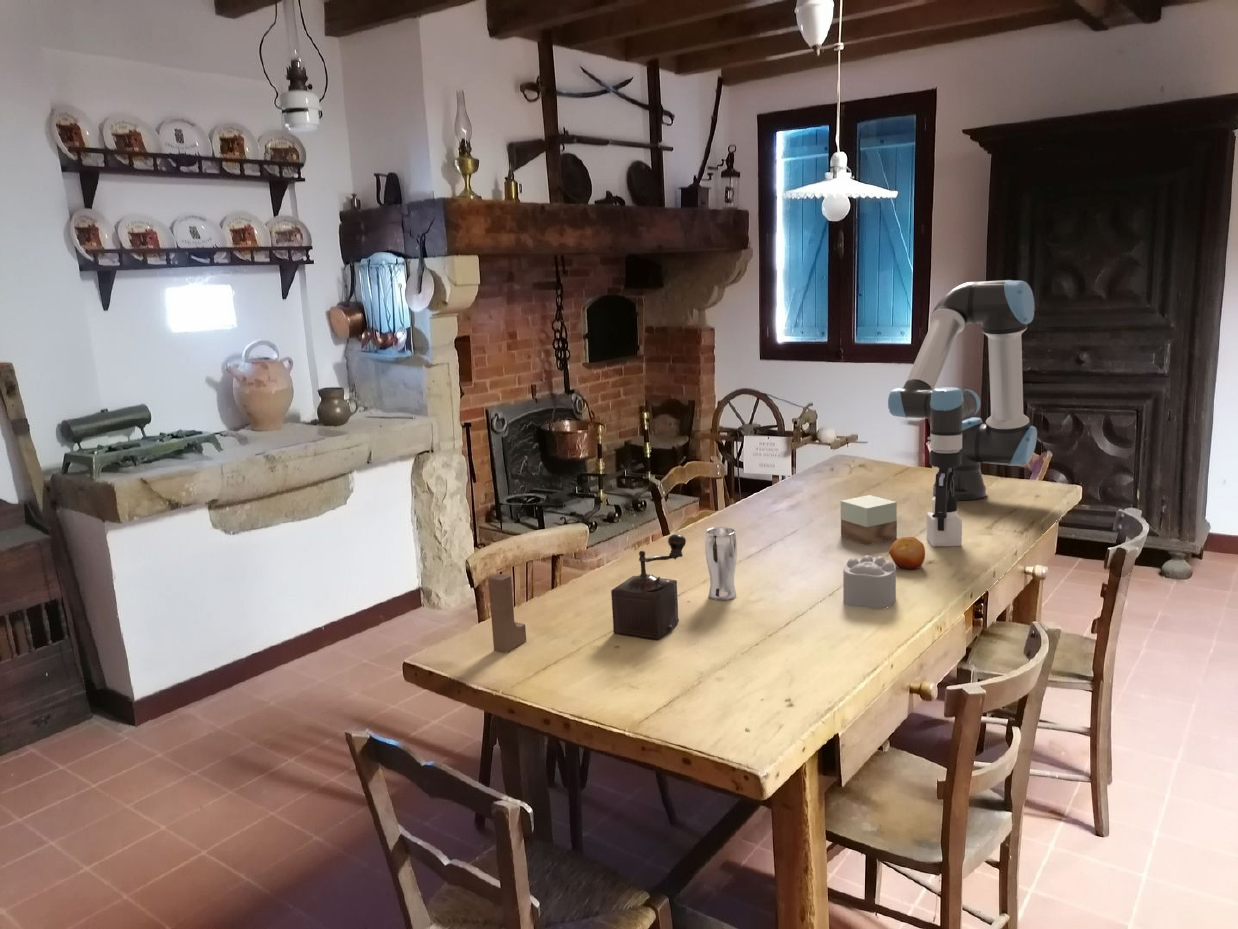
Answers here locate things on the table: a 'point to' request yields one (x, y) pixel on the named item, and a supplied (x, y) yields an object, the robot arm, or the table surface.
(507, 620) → the wooden block
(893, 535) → the walnut slab
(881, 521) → the sage slab
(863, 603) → the lumpy-topped squat cylinder
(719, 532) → the beer glass
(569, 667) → the table surface
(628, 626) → the coffee grinder
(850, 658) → the table surface
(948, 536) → the medicine bottle
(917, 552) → the fruit
